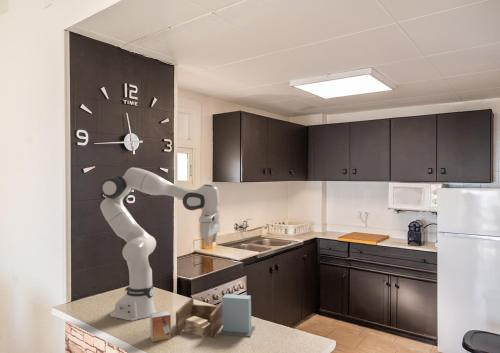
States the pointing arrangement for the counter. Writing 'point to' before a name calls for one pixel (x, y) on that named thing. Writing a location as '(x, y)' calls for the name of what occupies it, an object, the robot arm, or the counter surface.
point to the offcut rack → (200, 315)
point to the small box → (160, 326)
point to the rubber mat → (237, 333)
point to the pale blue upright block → (236, 313)
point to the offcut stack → (197, 326)
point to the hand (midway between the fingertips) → (211, 243)
